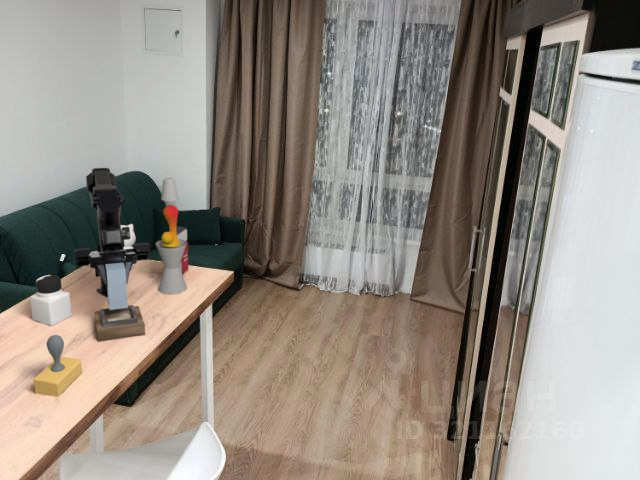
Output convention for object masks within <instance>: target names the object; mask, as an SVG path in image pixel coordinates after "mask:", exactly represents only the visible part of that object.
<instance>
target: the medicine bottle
mask: <svg viewBox="0 0 640 480" xmlns="http://www.w3.org/2000/svg"><path fill="white" fill-rule="evenodd" d="M35 285H36V293H35V294H33V295H31V296H30V297H29V301H30V307H31V308H30V309H31V316H32V317H31V318H32V321H34V320H35V321H34V322H37V321H38V323H40V322H41V324H43V323H44V325H46V324H47V326H49V325H50V326H51V327H54V326H55V325H57V324H59V323H61V322H63V321H64V320H67V319H69V318H70V317H72V315H73V314H72V306H71V305H72V304H71V294H70V292H68V291H64V290H62V279H61V277H60V276H59V275H55V274H48V275H43V276H41V277H39V278H37V279H36V281H35Z"/></svg>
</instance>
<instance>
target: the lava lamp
mask: <svg viewBox="0 0 640 480" xmlns="http://www.w3.org/2000/svg"><path fill="white" fill-rule="evenodd" d="M160 200H162V202H175V201H178V200H179V196H178V191H177V186H176V181H175V178H173V177H165V178H163V180H162V189H161V195H160ZM162 211H163V212H162V213H163V216H164V217H165V219H166V222H167V224H168V225H169V231H170V232H169V231H165V232H163V234H162V235H161V240H158V241H156V242H155V246H156V249H157V251H158V255H159V256H160V258H161V260H162V263H163V265H164V266H165V267H164V268H163V272H162V275H161V279H160V281H159V286H158V292H159V293H161V294H163V295H171V296H172V294H174V295H179V294H178V293H180V294H182V293H181V292H183V291H185V290H186V289H187V290H188V286H187V283H186V281H185V279H184V276H183V274H182V273H181V270H180V267H179V265H180V262H181V259H182V256H183V253H184V250H185V247H186V244H187V243H186V241H184V240H182V239H178V237H177V231H176V226H177V223H178V217H179V216H178V215H179V209H178V207H176V206H175V205H172V204H169V205H167V206H165V207H164V209H163V210H162ZM187 290H186V291H187ZM186 291H185V292H186ZM183 293H184V292H183Z"/></svg>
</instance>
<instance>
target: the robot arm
mask: <svg viewBox="0 0 640 480" xmlns="http://www.w3.org/2000/svg"><path fill="white" fill-rule="evenodd" d="M110 169H111V168H108V167H95V168H92V169H91V172H90V173H89V174H87V175H86V177H85V180H86V181H85V182H86V183H85V185H86V192H87V193H89V198H90V200H91V201H90V202H91V207H92V208H94V209H95V210H96V214H97V215H96V219H97V221H96V222H97V227H98V228H97V230H98V237H99V244H97V246H96V249H95V250H93V251H92V249H91V247H82V248H75V250H74V251H73V252H74V254H73V255H74V263H75V267H86V266H87V267H88V266H89V267H90V269H94V274H95V278H98V277H99V278H100V279H99V280H100V288H97V289H96V292H97V293H98V294H100V295H101V296H104V297H105V298H108V295H107V286H108V283H107V276H106V267H105V264H114V263H124V266H125V271H126V285H127V284H128V282H129V277H130V272H131V267H132V265H133V264H135V265H136V264H137V262H139V261H147V260H150V258H151V253H152V252H151V251H152V250H151V245H150V244H149V243H148V242H140V243H139V242H138V243H134V244H133V249H124V246H125V244H124V240H129V239H130V229H129V227H122V231H121V225H122V224H121V219H120V217H121V209H122V206H123V204H125V198H124V196H123V194H122V193H121V191H119V190H118V187H117V185H116V184H117V183H116V175H115V174H114V173H112V172H111V171H110Z"/></svg>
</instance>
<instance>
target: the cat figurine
mask: <svg viewBox="0 0 640 480" xmlns="http://www.w3.org/2000/svg"><path fill="white" fill-rule="evenodd" d="M120 225H121V231H122V227H129V229H130V239H129V240H124V244H125V246H124V249H133V248H134V244H136V240H137V239H136V234H135V231H134V224H133V223H130V224H127V225H126V224H125V225H124V224H120ZM135 266H136V264H133V265H132V267H131V269H134V267H135Z"/></svg>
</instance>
